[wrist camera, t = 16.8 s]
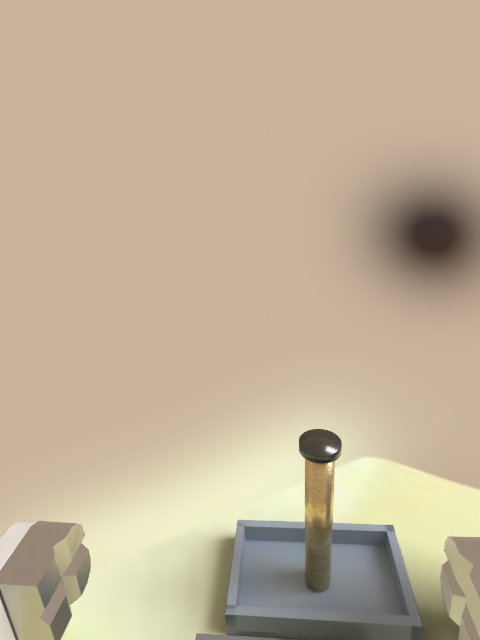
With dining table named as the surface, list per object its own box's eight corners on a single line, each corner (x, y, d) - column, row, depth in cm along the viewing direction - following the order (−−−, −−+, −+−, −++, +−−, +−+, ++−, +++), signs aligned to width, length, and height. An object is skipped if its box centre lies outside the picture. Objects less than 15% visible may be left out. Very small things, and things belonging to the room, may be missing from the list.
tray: (227, 634, 36) (225, 614, 35) (239, 537, 46) (237, 519, 45) (419, 647, 34) (422, 626, 34) (391, 543, 44) (393, 525, 43)
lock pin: (300, 596, 38) (299, 454, 33) (298, 563, 42) (298, 428, 36) (338, 599, 38) (344, 455, 32) (333, 565, 41) (338, 429, 36)
